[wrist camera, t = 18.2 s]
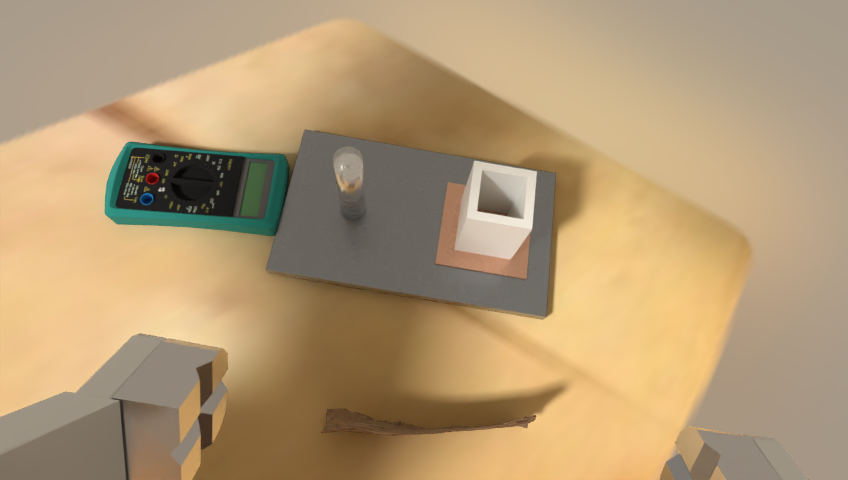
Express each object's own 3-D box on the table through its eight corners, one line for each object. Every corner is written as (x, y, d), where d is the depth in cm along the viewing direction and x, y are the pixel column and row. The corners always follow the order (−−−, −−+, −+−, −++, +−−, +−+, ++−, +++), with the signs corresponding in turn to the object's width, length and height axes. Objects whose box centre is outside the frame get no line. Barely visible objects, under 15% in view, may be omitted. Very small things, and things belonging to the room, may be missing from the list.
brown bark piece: (518, 406, 43) (535, 401, 38) (520, 433, 42) (538, 432, 38) (328, 409, 42) (321, 405, 37) (327, 437, 41) (320, 436, 36)
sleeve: (454, 249, 46) (466, 218, 40) (461, 199, 48) (474, 160, 41) (510, 259, 46) (532, 229, 40) (515, 208, 48) (536, 171, 42)
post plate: (268, 272, 45) (241, 231, 36) (306, 135, 50) (290, 69, 42) (542, 319, 46) (581, 289, 37) (552, 178, 51) (588, 122, 42)
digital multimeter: (131, 153, 49) (116, 135, 46) (292, 166, 50) (287, 150, 47) (109, 226, 46) (92, 212, 44) (281, 239, 47) (274, 226, 44)
